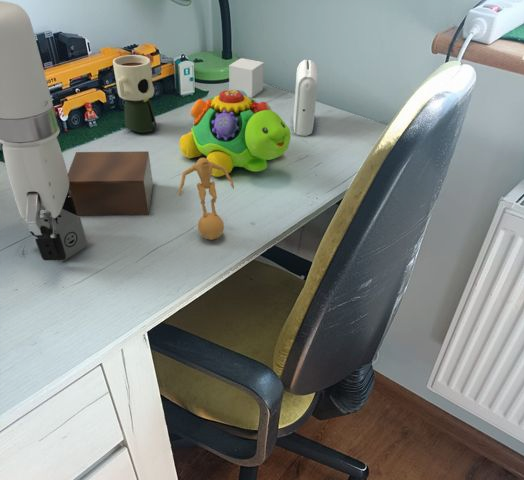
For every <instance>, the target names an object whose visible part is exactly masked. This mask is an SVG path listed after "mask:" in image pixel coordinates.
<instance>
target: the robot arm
mask: <svg viewBox="0 0 524 480" xmlns="http://www.w3.org/2000/svg"><path fill="white" fill-rule="evenodd" d="M35 35H36V34H35V32H34V28H33V24H32V21H31V18H30V16H29V13H27V11H26V10H25V9H24V8H23V7H22V6H20V5H19V4H17V3H14V2H10V1H2V0H0V144H2V145H1V149H2V153H3V159H4V163H5V164H4V165H5V167H6V168H5V169H6V172H7V176H8V180H9V183H10V187H11V190H12V194H13V197H14V200H15V203H16V207H17V209H18V212H19V215H20V217H21V218H22V219H23V220H25V225H26V227H27V228H28V229H29V231H30V234H31V235H32V237H33V239H34V240H35V239H36V241H35V243H36V242H37V244H36V246H37V245H38V247H37V249H38V248H39V250H38V251H39V254H40V256H41V259H42V260H43V261H58V260H64V261H66V260H65V258H66V253H65V250H64V247H63V244H62V241H61V237H60V234H56V222H55V218H56V217H57V216H58V215H59V214H60V212H61V209H64V210H66V211H68V212H70V213H72V214H75V215H77V213H76V209H75V205H74V202H73V198H72V197H69V196H71V189H70V188H69V177H68V169H67V166H66V162H65V158H64V155H63V152H62V149H61V146H60V142H59V140H58V136H59V134H60V133H61V129H60V126H59V121H58V118H57V114H56V111H55V107H54V104H53V99H52V96H51V92H50V88H49V85H48V81H47V75H46V73H45V69H44V66H43V61H42V59H41V58H42V57H41V54H40V51H39V46H38V43H37V39H36V36H35ZM41 211H46V212H47V211H48V212H49V213H48V214H43V213H41ZM40 219H49V228H48V227H46V226H42V223H41V221H40Z"/></svg>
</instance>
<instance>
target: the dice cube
mask: <svg viewBox="0 0 524 480" xmlns="http://www.w3.org/2000/svg"><path fill="white" fill-rule="evenodd" d="M48 213H49V212H48V211H47V210H46V211H44V212H43V213H42V214H48ZM40 221H41V223H42V226H46V227H48V228H49V219H40ZM55 222H56V234H60V237H61V241H62V244H63V247H64V250H65V253H66V258H65V260H57V261H59V262H60V263H63V262H65V261H66V260H68V259H69V258H71V257H73V256H74V255H76V254H77V253H79V252H81V251H82V250H83V249H86V248H87V247H88V242H87V238H86V235H85V231H84V226H83V222H82V219H81V216H77V215H75V214H72V213H70V212H68V211H66V210H64V209H61V212H60V214H59V215H58V216H57V217H56V218H55ZM34 241H35V244H36V246H37V250H38V251H39V248H38V245H37V242H36V239H34Z"/></svg>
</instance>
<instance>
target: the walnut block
mask: <svg viewBox="0 0 524 480" xmlns="http://www.w3.org/2000/svg"><path fill="white" fill-rule="evenodd" d="M67 173H68V177H69V188H70V189H71V196H68V197H72V198H73V202H74V205H75V209H76V213H77V216H79V217H81V216H82V217H83V216H125V215H126V216H134V215H135V216H136V215H140V216H141V215H149V214H150V209H151V208H150V207H151V201H152V195H153V187H154V181H153V174H152V168H151V159H150V152H149V150H148V151H147V150H146V151H76V152H75V153H74V156H73V159H72V161H71V164H70V167H69V170H68V171H67Z"/></svg>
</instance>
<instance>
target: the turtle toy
mask: <svg viewBox="0 0 524 480" xmlns="http://www.w3.org/2000/svg"><path fill="white" fill-rule="evenodd" d="M189 113H190V115H191V116H192V117H193V119H194V121H193V125H192V127H191V128H190V130H191V131H189V132H188V133H186V134H184V135H181V137H180V139H179V143H178V146H179V151H180V152H181V154H182V155H183V156H184V157H185V158H187V159H195V158H200V157H201V156H203V155H204V156H205V157H206V159H207V160H208V161H210V162H213V163H215V164H217V165H220V166H223V167H224V168H225V169H226V171H227V173H228V174H230V173H232V171H233V168H234V167H235V168H236V167H239V168H243V169H245V170H247V171H249V172H255V173H256V172H262V171H263V170H266V169H267V168H268V163H267V161H270V160H274V159H276V158H279V157H280V156H283V155H284V154H285V153H286V151H287V150H288V148H289V146H290V142H291V129H290V128H289V126H288V124H287V123H286V122H285V121H284V120H283V119H282V117H280V115H279V114H278V113H277V112H275V111H273V110H272V108H271V106H270V105H269V104H268V102H266V101H261V102H257V101H256V100H255V99H253V98H251V97H247V95H246V93H245V92H244V91H242V90H231V91H229V89H228V90H227V89H226V90H222V91H221V92H219V93H218V95H216V96H213V97H211V98H210V99H207V100H206V101H205V100H204V99H201V98H199V99H197V100H196V101H195V102H194V104H193V106H191V109H190V111H189ZM211 176H212V177H214V178H220V177H223V176H226V175H225V174H224V172H223V170H218V169H215V168H213V169H212V174H211Z"/></svg>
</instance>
